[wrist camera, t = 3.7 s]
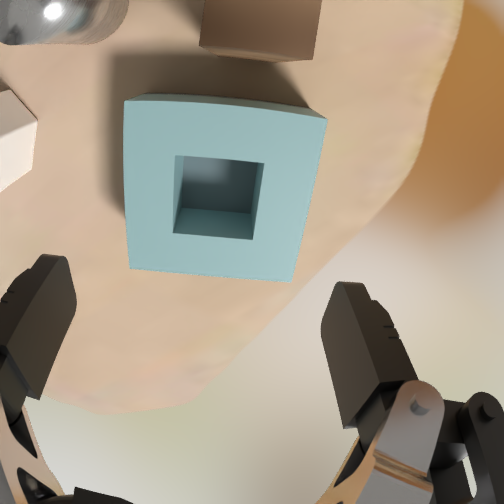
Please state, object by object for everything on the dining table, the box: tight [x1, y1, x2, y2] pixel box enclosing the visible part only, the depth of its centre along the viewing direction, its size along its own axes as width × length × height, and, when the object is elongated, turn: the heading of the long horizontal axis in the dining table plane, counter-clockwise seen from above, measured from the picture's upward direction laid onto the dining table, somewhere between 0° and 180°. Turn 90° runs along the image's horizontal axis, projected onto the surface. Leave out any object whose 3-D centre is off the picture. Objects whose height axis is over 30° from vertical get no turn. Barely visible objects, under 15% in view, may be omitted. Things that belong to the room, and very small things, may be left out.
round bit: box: [0, 0, 129, 45], centre depth 12 cm, size 6×6×9 cm
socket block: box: [123, 93, 328, 282], centre depth 22 cm, size 12×12×5 cm
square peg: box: [199, 0, 322, 63], centre depth 14 cm, size 4×4×12 cm
